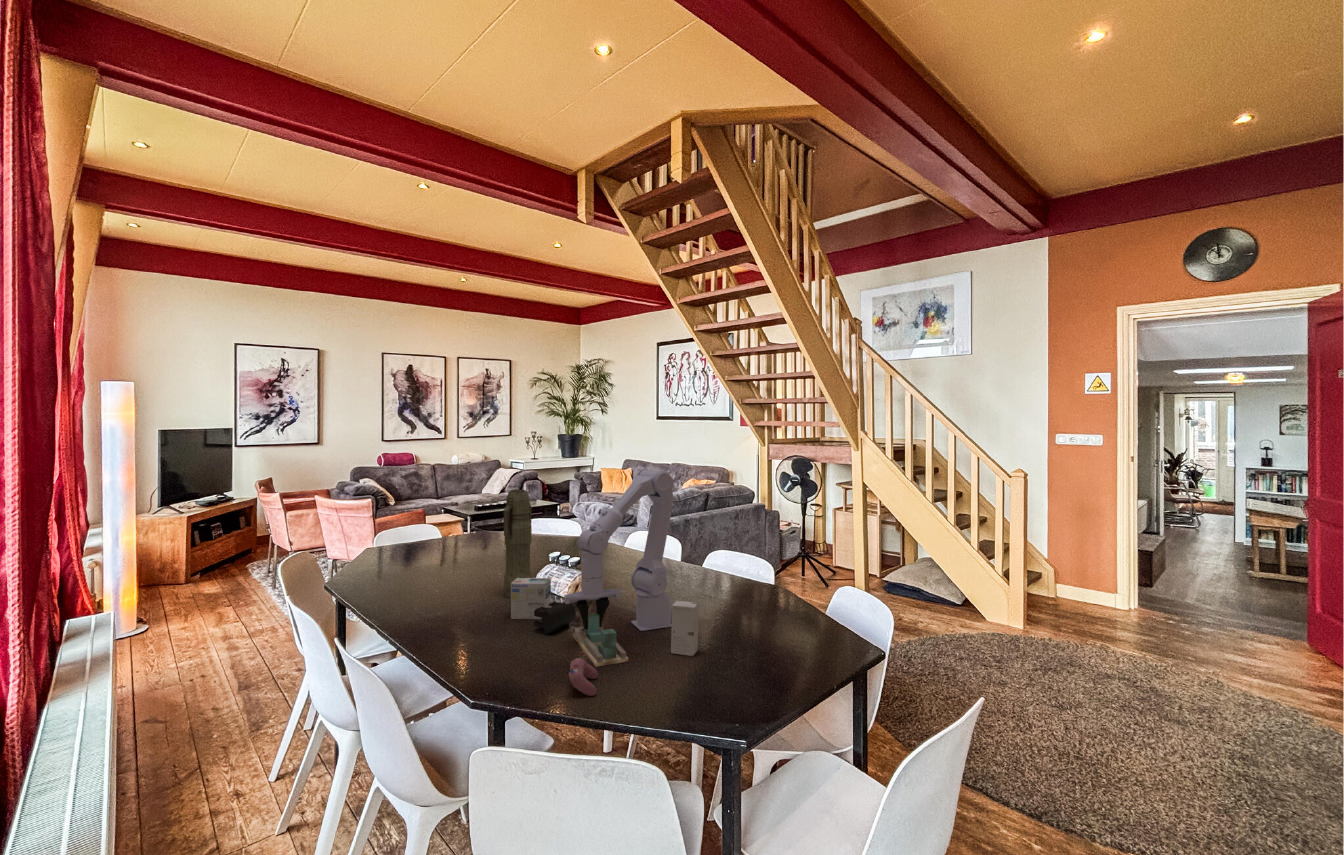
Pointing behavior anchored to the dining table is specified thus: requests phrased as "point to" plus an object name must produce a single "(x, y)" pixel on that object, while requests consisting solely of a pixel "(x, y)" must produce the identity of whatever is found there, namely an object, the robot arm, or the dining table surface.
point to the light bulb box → (529, 596)
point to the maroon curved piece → (582, 676)
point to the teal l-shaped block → (593, 628)
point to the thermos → (517, 537)
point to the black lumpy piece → (554, 617)
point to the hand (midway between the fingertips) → (592, 627)
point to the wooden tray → (601, 647)
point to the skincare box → (684, 628)
